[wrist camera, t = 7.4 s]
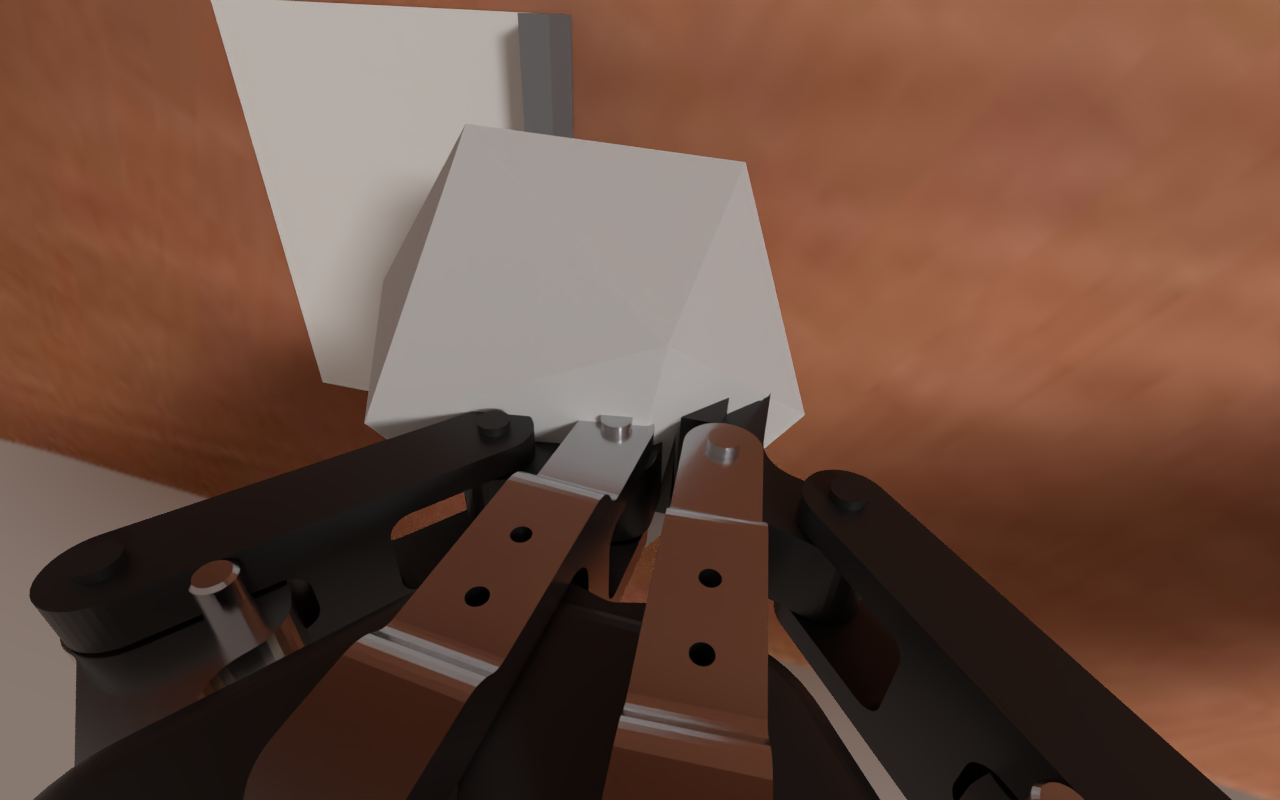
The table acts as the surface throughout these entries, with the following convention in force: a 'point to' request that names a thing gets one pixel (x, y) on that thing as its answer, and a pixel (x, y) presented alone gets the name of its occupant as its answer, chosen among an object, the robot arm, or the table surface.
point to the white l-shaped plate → (376, 133)
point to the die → (580, 293)
